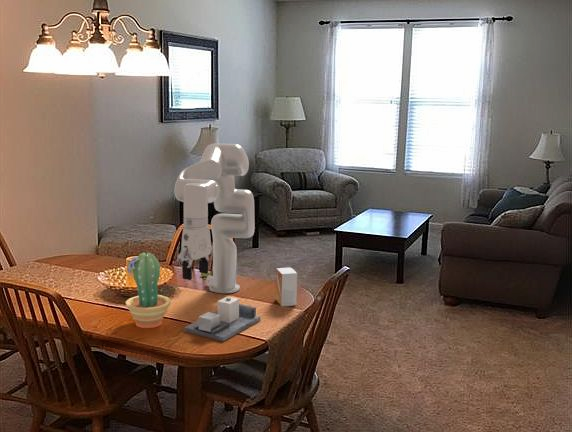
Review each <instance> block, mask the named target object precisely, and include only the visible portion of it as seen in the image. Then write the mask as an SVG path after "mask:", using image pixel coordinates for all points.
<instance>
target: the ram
mask: <svg viewBox="0 0 572 432" xmlns="http://www.w3.org/2000/svg"><path fill="white" fill-rule="evenodd" d="M198 320H199V327H198V329H200V330H204V331H207V332H211V331H213V330H215V329H217V328H218V327H220V320H221V316H220V315H219V314H215V313H214V312H210V311H207V312H205V313H204V314H202V315H199V316H198Z"/></svg>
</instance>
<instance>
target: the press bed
mask: <svg viewBox="0 0 572 432" xmlns="http://www.w3.org/2000/svg"><path fill="white" fill-rule="evenodd" d="M213 313H215V314H218V310H217V311H215V312H213ZM260 321H261V316H259V315H257V307H256V306H251V305H247V304H242V303H239V318H238V319H236V320H234V321H232V322H231V323H227V322H223V321H220V327H218V328H217V329H215V330H213V331H211V332H207V331H204V330H200V329H198V327H199V319H198V320H196V321H194V322H192V323H190V324H188V325H186V326H184V332H186V333H189V334H193V335H195V336H196V335H197V336H201V337H205V338H208V339H212V340H215V341H220V342H225V341H227V340H229V339H231V338H232V337H234V336H236V335H238V334H240V333H241V332H244V331H245V330H246V329H248V328H250V327H252V326H253V325H255V324H257V323H258V322H260Z"/></svg>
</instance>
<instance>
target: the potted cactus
mask: <svg viewBox="0 0 572 432" xmlns="http://www.w3.org/2000/svg"><path fill="white" fill-rule="evenodd" d="M126 269H127V272H128V274H129V276H131V275H132V277H133V280H134V282H135V284H136V289H137V295H136V296H132V297H130V298H128V299H127V300H126V301H125V305H126V308H127V310H129V312H130V314H131V316H132V318H133V320H134V321H135V325H136V327H138V328H141V329H142V328H143V329H149V328H150V329H151V328H153V329H154V328H156V327H160V326H161V325H162V323H163V322H162V319H163V318H164V317H165V315H166V313H167V311H168V308H170V306H171V302H172V301H171V299H170V298H169V297H168V296H165V295H161V294H158V284H159V280H160V277H161V276H160V275H161V264H160V262H159V260H158V259H157V257H156V256H155V255H154V254H153V253H151V252H147V253H145V252H142V253H139V255H138V256H134V257H132V258H131V259H130V262H129V263H128V266H127V268H126Z"/></svg>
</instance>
